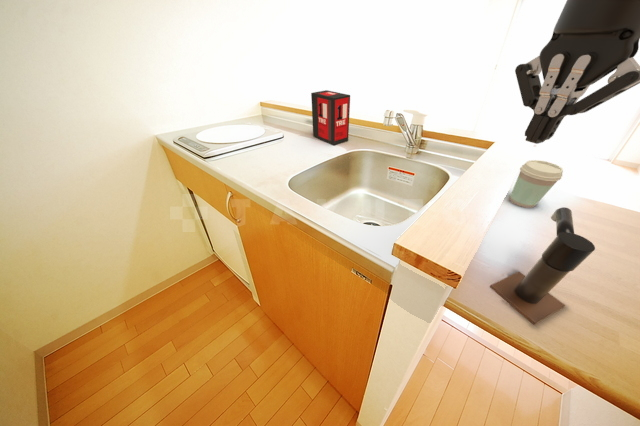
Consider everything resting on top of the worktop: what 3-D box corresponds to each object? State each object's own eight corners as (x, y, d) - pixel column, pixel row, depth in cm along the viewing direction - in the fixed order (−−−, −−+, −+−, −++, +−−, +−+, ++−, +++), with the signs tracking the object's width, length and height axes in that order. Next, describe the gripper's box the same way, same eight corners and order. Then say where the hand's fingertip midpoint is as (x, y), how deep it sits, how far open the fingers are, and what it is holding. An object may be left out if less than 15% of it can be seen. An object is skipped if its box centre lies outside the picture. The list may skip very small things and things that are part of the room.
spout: (575, 275, 34) (597, 255, 31) (541, 263, 36) (558, 243, 33) (570, 222, 43) (586, 203, 40) (543, 215, 45) (556, 196, 42)
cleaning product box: (348, 141, 110) (350, 95, 97) (333, 145, 105) (334, 98, 93) (326, 132, 120) (326, 90, 108) (313, 136, 116) (311, 92, 104)
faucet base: (560, 309, 41) (603, 273, 34) (531, 327, 38) (571, 291, 32) (515, 275, 47) (544, 239, 40) (487, 289, 44) (514, 252, 38)
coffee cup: (546, 212, 62) (575, 173, 55) (515, 213, 63) (539, 174, 55) (525, 195, 69) (548, 158, 62) (496, 196, 69) (516, 159, 62)
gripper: (532, -15, 27) (476, 132, 37) (721, -50, 17) (573, 164, 28) (570, -14, 29) (507, 125, 40) (759, -44, 19) (608, 152, 30)
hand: (534, 141), depth 33 cm, fingers closed
